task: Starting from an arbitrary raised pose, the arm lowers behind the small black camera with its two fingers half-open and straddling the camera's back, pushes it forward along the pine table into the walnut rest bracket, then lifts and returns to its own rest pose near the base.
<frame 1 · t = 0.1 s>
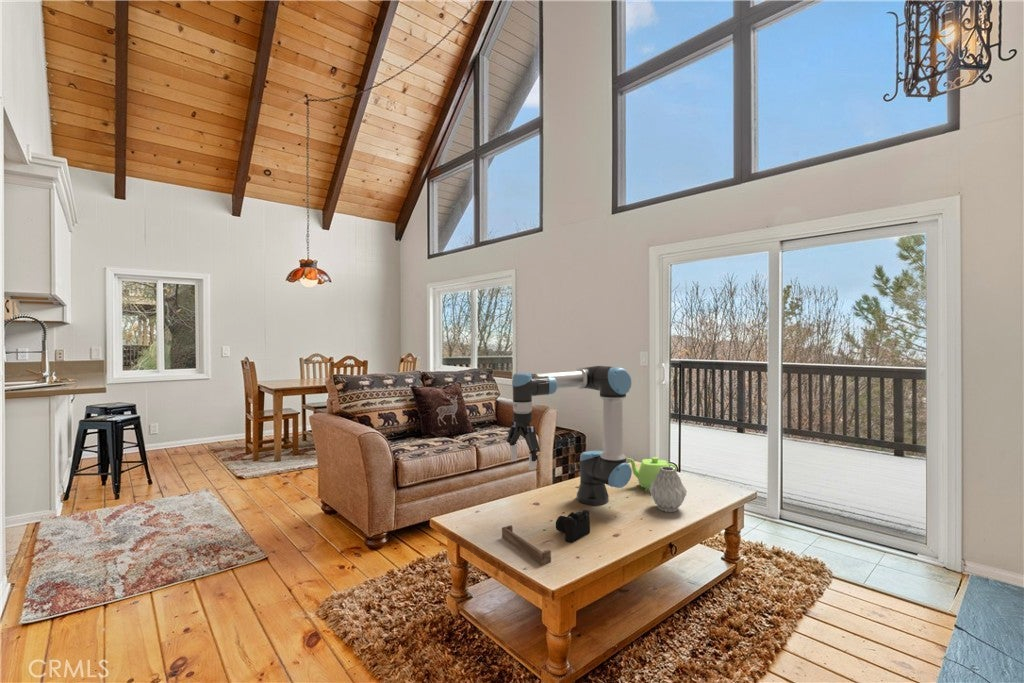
hand: (522, 465, 187), 28 cm above the table, fingers open, 13 cm apart
teapot: (651, 486, 243), on the table
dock: (537, 545, 178), on the table
vase: (667, 509, 213), on the table
camera: (572, 535, 187), on the table
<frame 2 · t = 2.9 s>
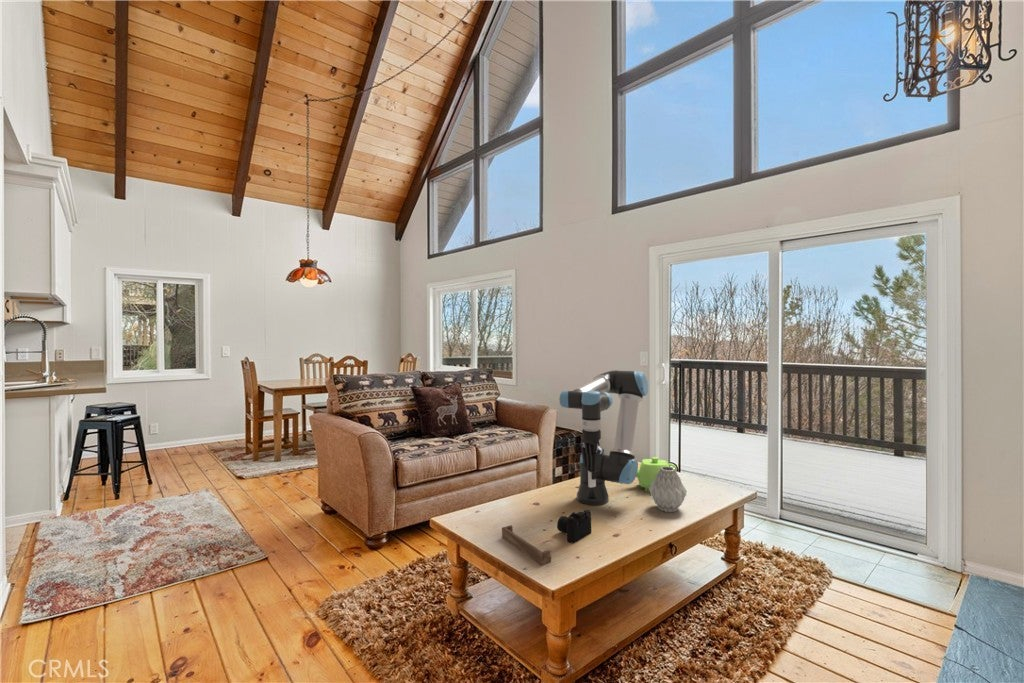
hand: (592, 486, 192), 18 cm above the table, fingers closed
nothing on the table moved.
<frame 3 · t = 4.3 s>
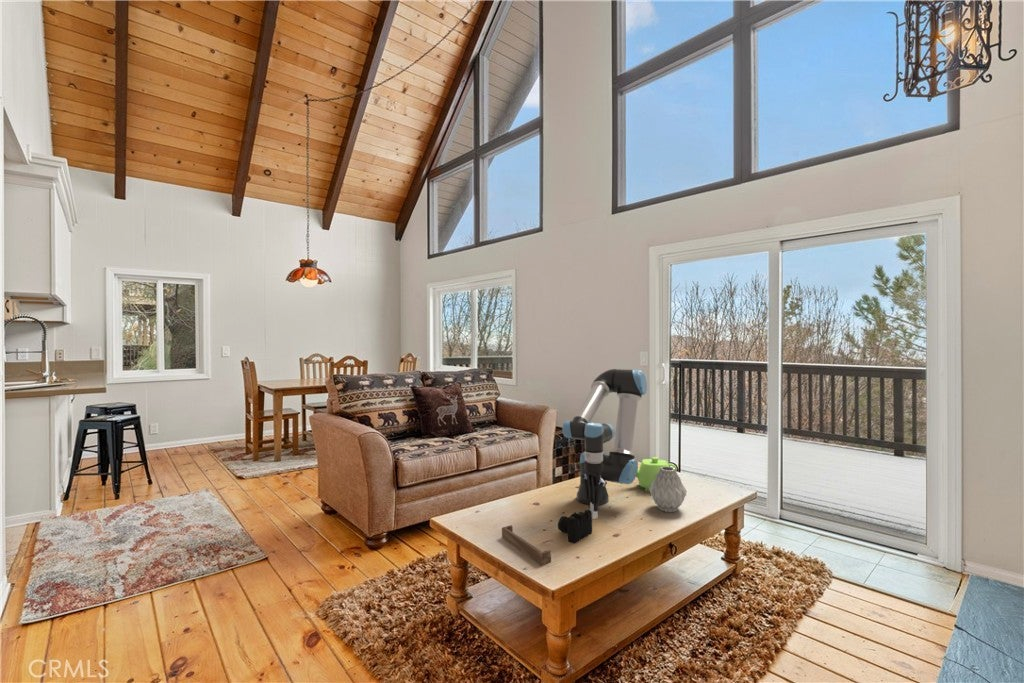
hand: (593, 518, 194), 4 cm above the table, fingers closed
nothing on the table moved.
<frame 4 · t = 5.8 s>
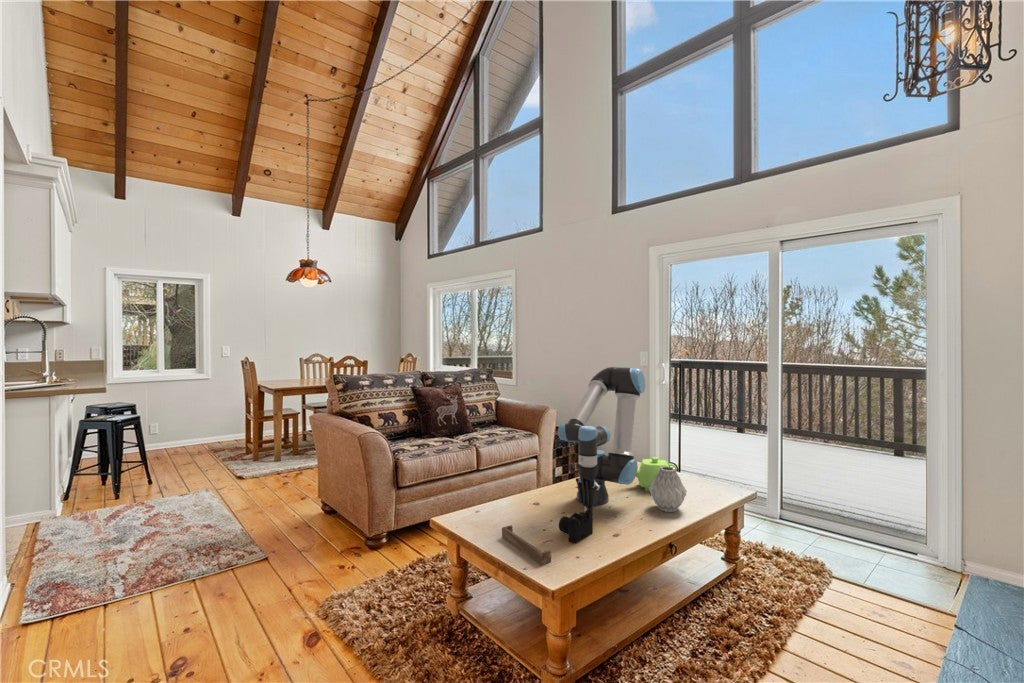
hand: (588, 521, 192), 3 cm above the table, fingers closed
camera: (575, 535, 187), on the table, touching gripper
everything else where it was.
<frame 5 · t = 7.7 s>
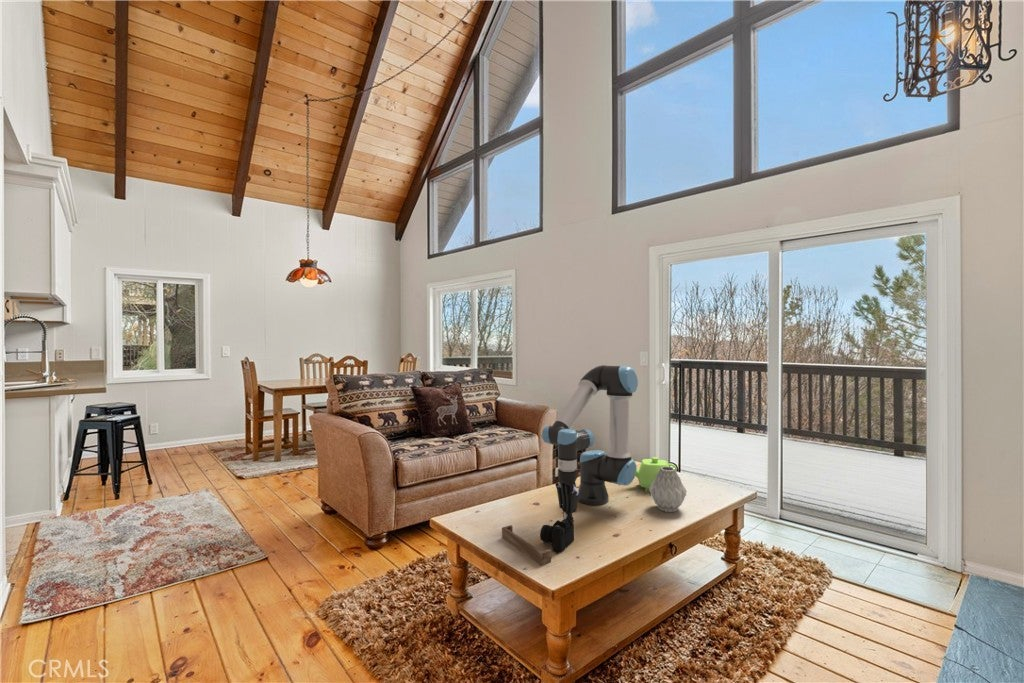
hand: (567, 528, 186), 3 cm above the table, fingers closed
camera: (557, 544, 179), on the table, touching gripper
everything else where it was.
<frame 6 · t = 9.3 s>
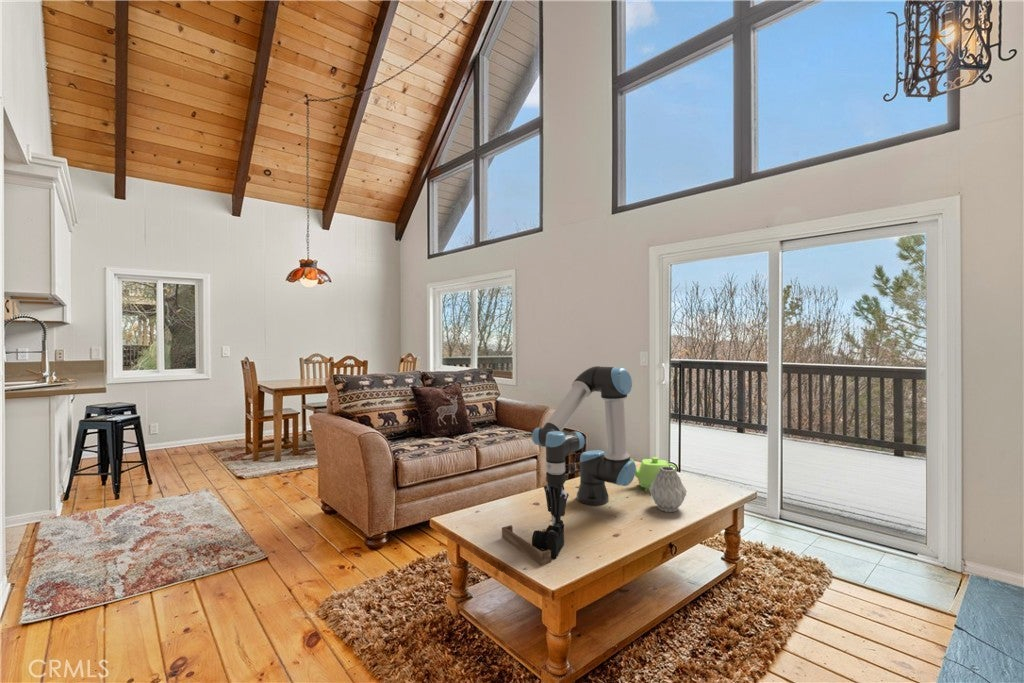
hand: (556, 531, 183), 3 cm above the table, fingers closed
camera: (548, 549, 175), on the table, touching gripper
everything else where it was.
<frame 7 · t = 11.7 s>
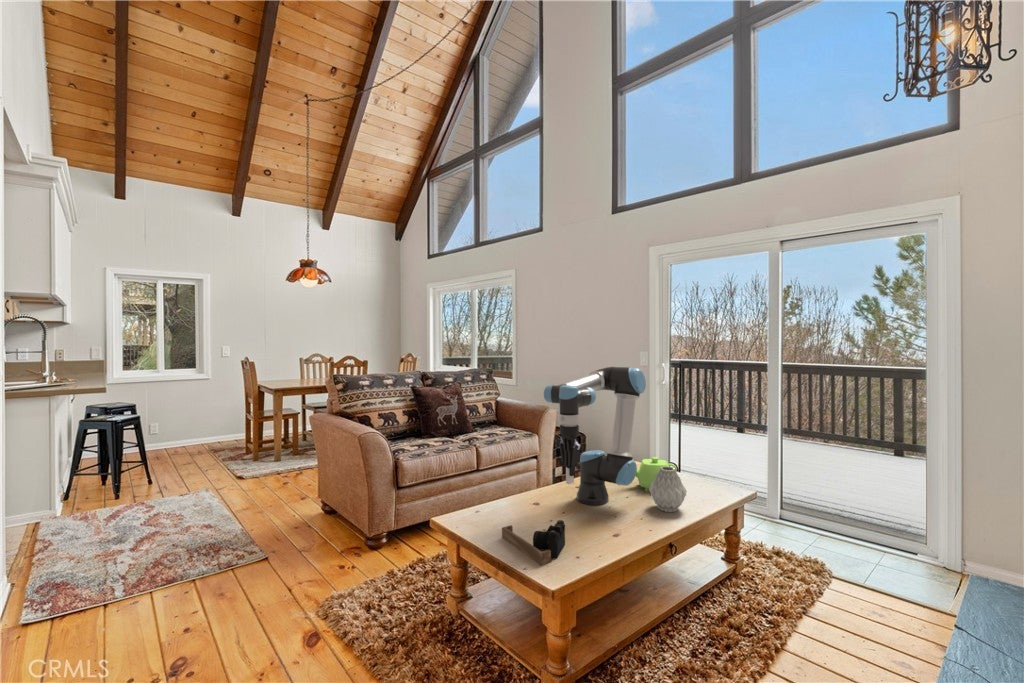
hand: (570, 483, 187), 21 cm above the table, fingers closed
camera: (549, 549, 175), on the table
everything else where it was.
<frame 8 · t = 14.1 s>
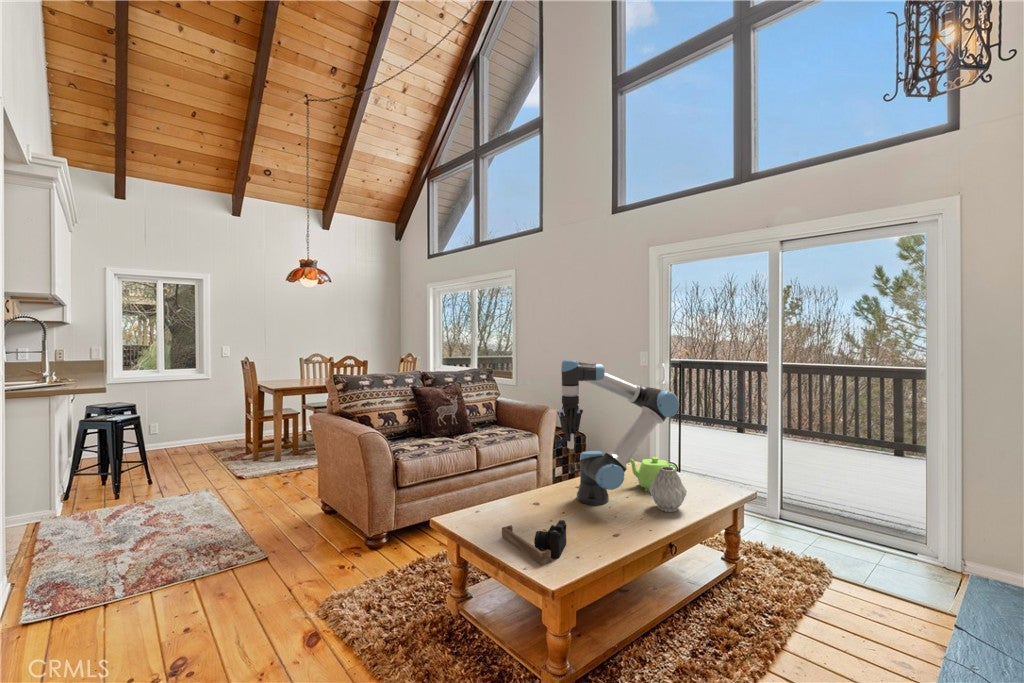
hand: (570, 448, 207), 29 cm above the table, fingers closed
nothing on the table moved.
at the end: camera inside the target area on the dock (5.8 cm from its centre), point 0.0 cm above the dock's base; camera tilted 0°; the gripper is holding nothing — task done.
